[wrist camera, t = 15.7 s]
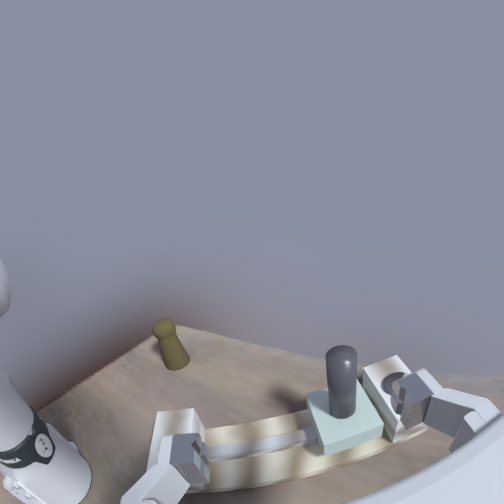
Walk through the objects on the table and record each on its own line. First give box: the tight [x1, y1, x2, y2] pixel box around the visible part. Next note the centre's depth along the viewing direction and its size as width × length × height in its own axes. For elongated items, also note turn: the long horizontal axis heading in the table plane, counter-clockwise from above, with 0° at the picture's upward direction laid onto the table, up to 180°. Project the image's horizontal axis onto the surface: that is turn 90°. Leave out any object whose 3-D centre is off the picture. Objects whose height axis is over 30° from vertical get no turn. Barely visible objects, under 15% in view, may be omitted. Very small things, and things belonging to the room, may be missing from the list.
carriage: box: [305, 345, 384, 456], centre depth 32 cm, size 8×10×14 cm
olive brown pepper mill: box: [152, 319, 190, 370], centre depth 59 cm, size 6×6×11 cm
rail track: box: [146, 355, 428, 494], centre depth 33 cm, size 38×12×7 cm, turn 96°
